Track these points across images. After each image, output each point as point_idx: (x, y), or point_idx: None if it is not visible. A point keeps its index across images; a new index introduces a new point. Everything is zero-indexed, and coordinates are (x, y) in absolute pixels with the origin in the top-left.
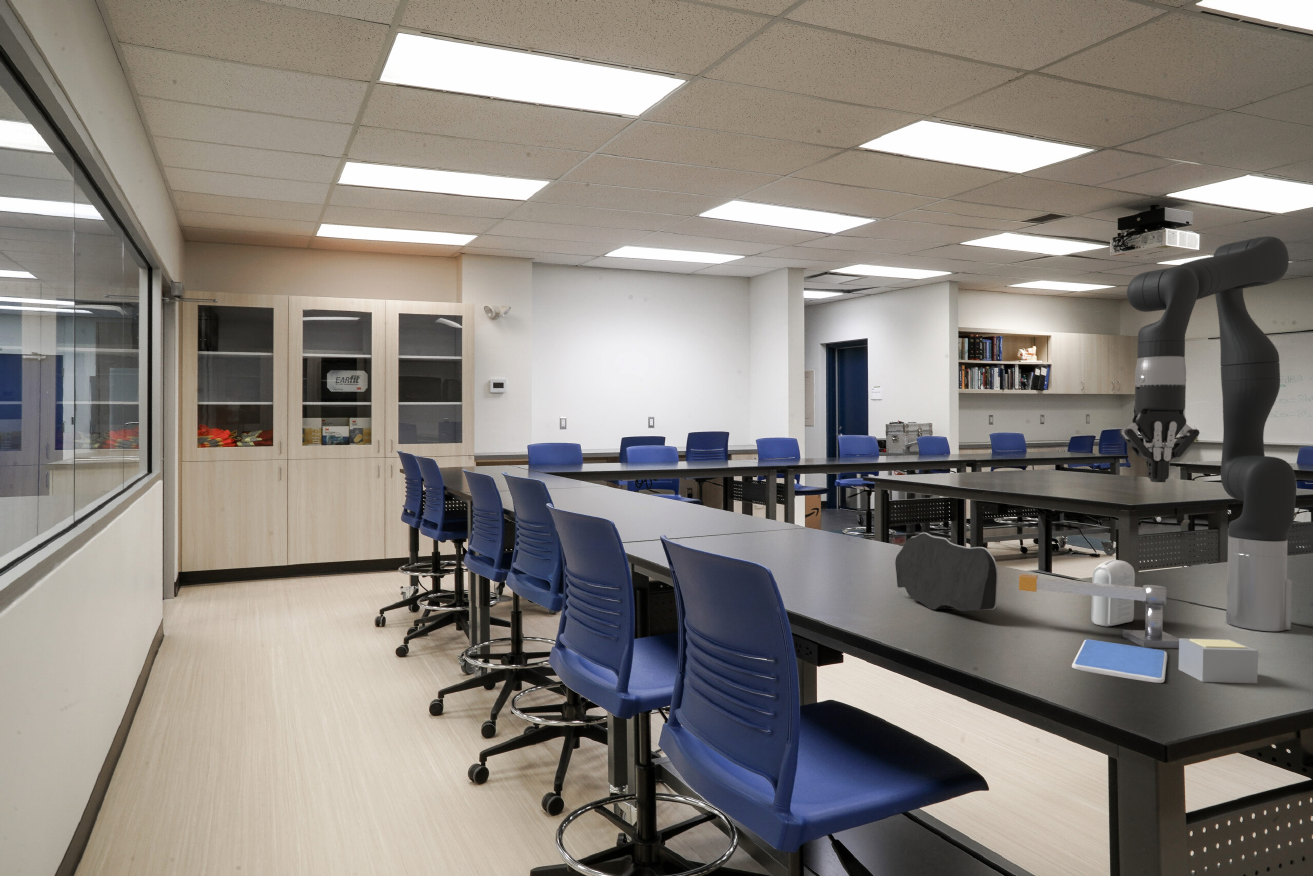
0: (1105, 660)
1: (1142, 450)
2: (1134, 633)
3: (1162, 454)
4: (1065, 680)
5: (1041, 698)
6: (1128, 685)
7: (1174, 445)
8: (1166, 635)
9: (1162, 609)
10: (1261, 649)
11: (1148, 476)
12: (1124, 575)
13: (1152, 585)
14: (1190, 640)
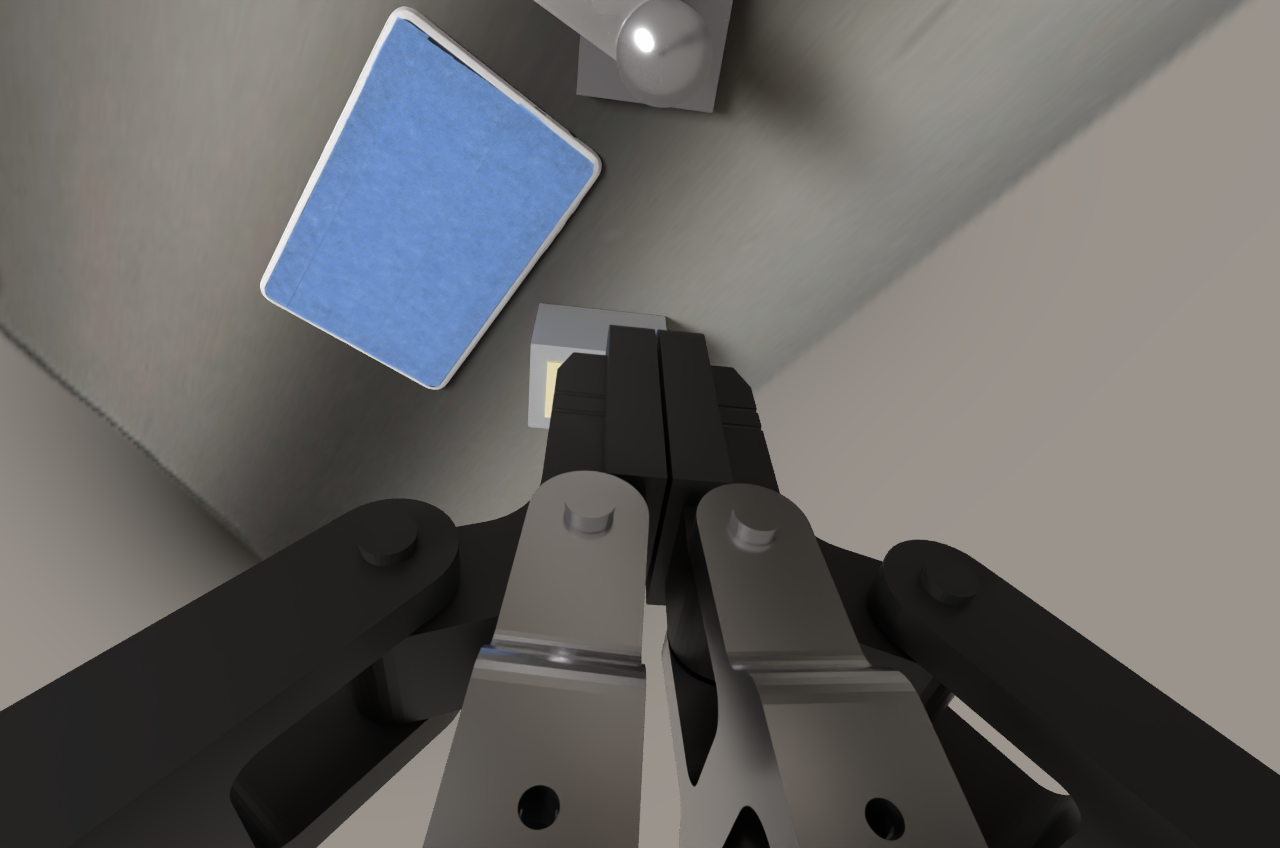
0: (361, 264)
1: (320, 738)
2: None
3: (695, 655)
4: (221, 364)
5: (147, 453)
6: (356, 395)
7: (1040, 762)
8: (706, 24)
9: None
10: (954, 123)
11: (562, 372)
12: None
13: (679, 16)
14: (547, 363)
